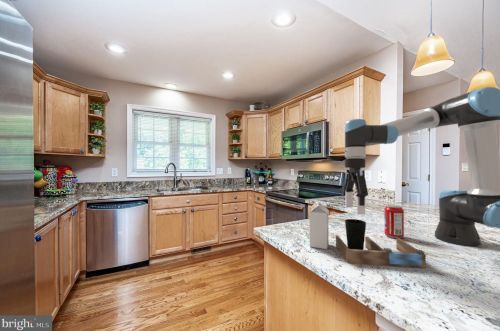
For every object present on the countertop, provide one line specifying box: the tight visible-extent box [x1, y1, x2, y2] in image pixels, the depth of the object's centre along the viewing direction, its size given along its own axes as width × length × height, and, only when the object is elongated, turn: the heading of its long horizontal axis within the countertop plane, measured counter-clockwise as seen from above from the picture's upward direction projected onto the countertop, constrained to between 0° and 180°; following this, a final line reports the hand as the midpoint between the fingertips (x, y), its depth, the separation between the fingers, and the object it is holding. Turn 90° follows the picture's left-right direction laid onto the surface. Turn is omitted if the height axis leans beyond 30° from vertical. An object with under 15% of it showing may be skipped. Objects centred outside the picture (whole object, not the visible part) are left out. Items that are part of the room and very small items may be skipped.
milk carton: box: [309, 200, 330, 250], centre depth 90 cm, size 7×7×19 cm
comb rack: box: [335, 234, 427, 269], centre depth 80 cm, size 25×17×6 cm
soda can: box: [383, 204, 405, 239], centre depth 101 cm, size 8×8×15 cm
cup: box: [344, 218, 367, 250], centre depth 85 cm, size 8×8×12 cm
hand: (354, 210), depth 85 cm, fingers open, 13 cm apart
